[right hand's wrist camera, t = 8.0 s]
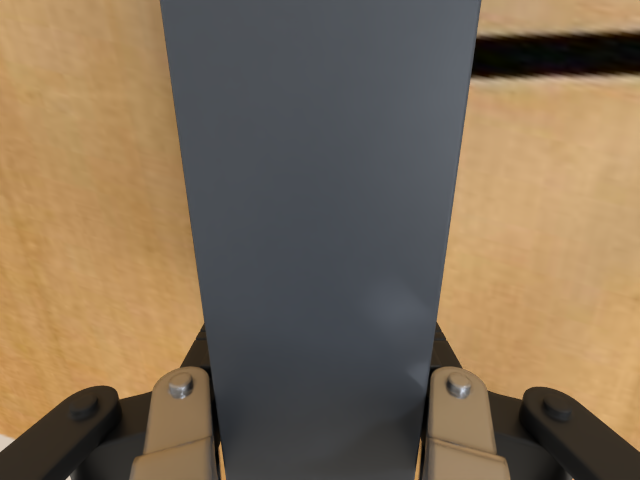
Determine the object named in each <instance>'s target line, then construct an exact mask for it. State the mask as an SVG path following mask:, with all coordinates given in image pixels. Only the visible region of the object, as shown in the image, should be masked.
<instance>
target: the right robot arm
mask: <svg viewBox="0 0 640 480" xmlns="http://www.w3.org/2000/svg"><path fill="white" fill-rule="evenodd" d="M420 438H421V441H422V443H421V450H420V461H419V475H418V480H572V478H573V479H574V480H640V452H639V451H638V450H636V449H635V448H634V447H633V446H631V445H630V444H629V443H628V442H627V441H625V440H624V439H623V438H622V437H620V436H619V435H618V434H617V433H616V432H614V431H613V430H612V429H611V428H609V427H608V426H607V425H606V424H604V423H603V422H602V421H601V420H600V419H598V418H597V417H596V416H595V415H593V414H592V413H591V412H590V411H589V410H587V409H586V408H585V407H584V406H582V405H581V404H580V403H579V402H577V401H576V400H575V399H573V398H572V397H570V396H568V395H566V394H564V393H562V392H560V391H558V390H555V389H551V388H547V387H532V388H529V389H528V390H526V391H525V393H524V395H523V399H522V400H520V399H516V398H512V397H508V396H504V395H500V394H496V393H493V392H490V391H488V390H487V388H486V386H485V384H484V383H483V382H482V381H481V379H480V378H478V377H477V376H476V375H474V374H473V373H471V372H469V371H467V370H464V369H463V368H462V366H461V365H460V363H459V361H458V359H457V357H456V356H455V354H454V352H453V350H452V348H451V347H450V345H449V343H448V341H446V338H445V336H444V334H443V332H441V329H440V327H439V325H438V323H437V322H436V328H435V335H434V342H433V349H432V356H431V363H430V371H429V378H428V385H427V392H426V399H425V406H424V414H423V421H422V428H421V435H420ZM220 442H221V438H220V431H219V423H218V416H217V409H216V402H215V395H214V387H213V380H212V373H211V366H210V359H209V351H208V344H207V337H206V330H205V323H204V325H203V326H202V328H201V331H200V332H199V334H198V335H197V337H196V340H195V341H194V343H193V345H192V346H191V348H190V350H189V352H188V354H187V356H186V357H185V359H184V361H183V363H182V365H181V366H180V368H178V369H176V370H173V371H171V372H169V373H167V374H166V375H164V376H163V377H162V378H160V379H159V380H158V381H157V383H156V384H155V386H154V388H153V391H151V392H148V393H145V394H141V395H137V396H132V397H128V398H124V399H120V400H119V397H118V393H117V391H116V390H115V389H114V388H112V387H109V386H94V387H90V388H86V389H83V390H81V391H79V392H77V393H75V394H73V395H71V396H70V397H68V398H66V399H65V400H64V401H62V402H61V403H60V404H59V405H58V406H56V407H55V408H54V409H53V410H51V411H50V412H49V413H48V414H47V415H45V416H44V417H43V418H42V419H40V420H39V421H38V422H37V423H36V424H34V425H33V426H32V427H31V428H29V429H28V430H27V431H26V432H24V433H23V434H22V435H21V436H20V437H18V438H17V439H16V440H15V441H13V442H12V443H11V444H10V445H9V446H7V447H6V448H5V449H4V450H2V451H1V452H0V480H66V478H68V476H69V475H70V477H71V480H222V476H221V462H220V451H219V445H220Z"/></svg>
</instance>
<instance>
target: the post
mask: <svg viewBox="0 0 640 480" xmlns="http://www.w3.org/2000/svg"><path fill="white" fill-rule="evenodd" d="M160 5H161V12H162V19H163V27H164V34H165V41H166V48H167V56H168V63H169V70H170V77H171V84H172V92H173V99H174V106H175V113H176V120H177V128H178V135H179V142H180V149H181V157H182V164H183V171H184V178H185V185H186V193H187V200H188V207H189V214H190V221H191V229H192V236H193V243H194V250H195V258H196V265H197V272H198V279H199V286H200V294H201V301H202V308H203V315H204V322H205V330H206V337H207V344H208V351H209V359H210V366H211V373H212V380H213V387H214V395H215V402H216V409H217V416H218V423H219V431H220V438H221V445H222V452H223V460H224V467H225V474H226V480H414V478H415V471H416V464H417V456H418V449H419V442H420V435H421V428H422V421H423V414H424V406H425V399H426V392H427V385H428V378H429V371H430V363H431V356H432V349H433V342H434V335H435V328H436V321H437V313H438V306H439V299H440V292H441V285H442V278H443V271H444V263H445V256H446V249H447V242H448V235H449V228H450V220H451V213H452V206H453V199H454V192H455V185H456V178H457V170H458V163H459V156H460V149H461V142H462V135H463V128H464V120H465V113H466V106H467V99H468V92H469V85H470V77H471V70H472V63H473V56H474V49H475V42H476V35H477V27H478V20H479V13H480V6H481V0H160Z"/></svg>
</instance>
